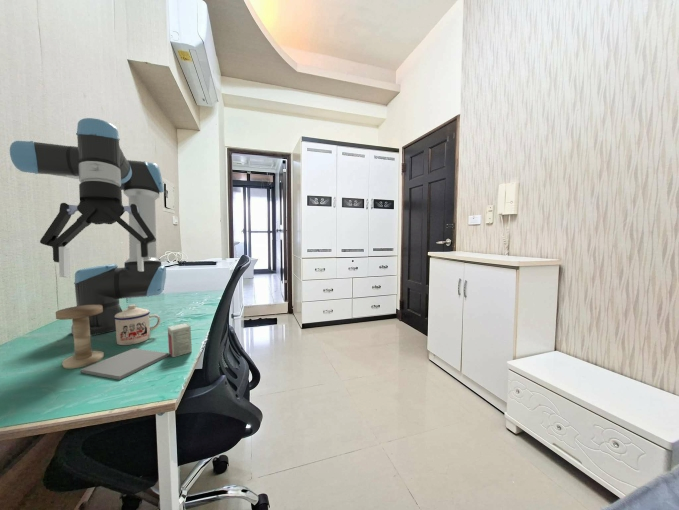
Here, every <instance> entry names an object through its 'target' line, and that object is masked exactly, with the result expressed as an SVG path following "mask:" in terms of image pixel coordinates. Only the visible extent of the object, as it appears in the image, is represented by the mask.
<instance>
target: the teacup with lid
mask: <svg viewBox="0 0 679 510" xmlns="http://www.w3.org/2000/svg"><path fill="white" fill-rule="evenodd" d="M127 306H128V307H127V308H125V309H123V310H122V312H120V313H117V314H116V315H115V317H114V319H115V323H116V330H115V335H116V336H115V338H116V343H117V345H120V346H130V345H135V344H136V345H137V344H140V343H142V342H146V341H147V340H149V339H150V338H151V331H153V330H155V329H157V328H158V327H159V325H160V324H161V318H160V316H159V315H158V314H150V313H151V312H150V310H149V309H146V308H140V307H137V306H136V304H130V305H127ZM150 318H157V322H156V324H155V325H154V326H152V327H151V326H150Z"/></svg>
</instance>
